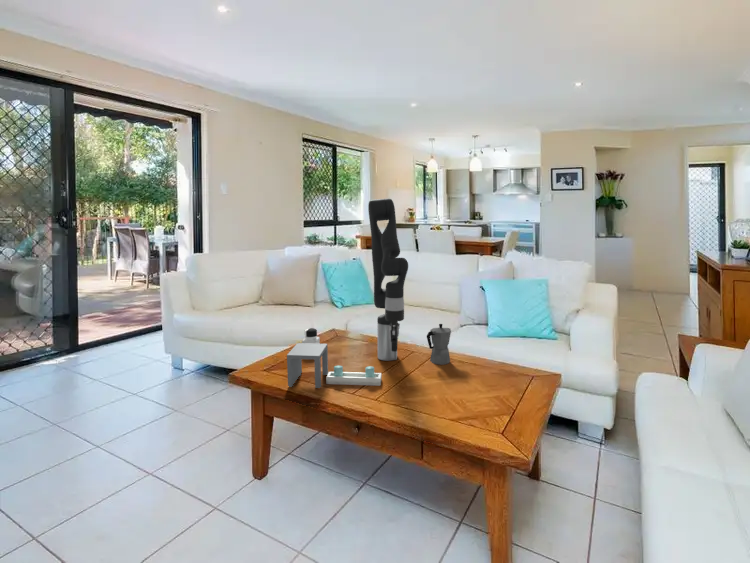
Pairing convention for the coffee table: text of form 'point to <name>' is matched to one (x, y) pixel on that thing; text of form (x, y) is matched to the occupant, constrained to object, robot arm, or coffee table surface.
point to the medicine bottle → (311, 336)
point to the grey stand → (307, 352)
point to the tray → (354, 377)
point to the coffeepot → (439, 345)
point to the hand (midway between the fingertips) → (394, 349)
